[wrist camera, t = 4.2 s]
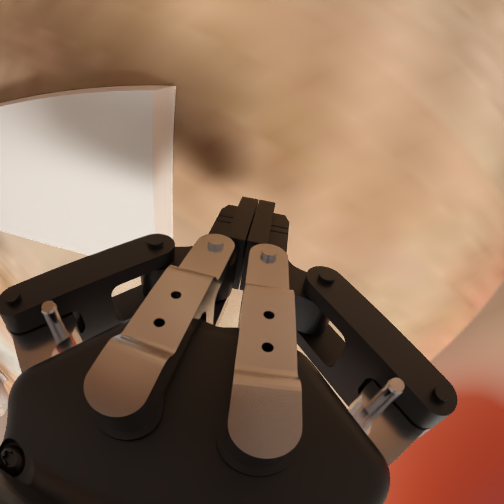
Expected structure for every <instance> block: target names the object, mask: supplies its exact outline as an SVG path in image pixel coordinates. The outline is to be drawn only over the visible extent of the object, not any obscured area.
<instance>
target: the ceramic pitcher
mask: <svg viewBox="0 0 504 504" xmlns="http://www.w3.org/2000/svg"><path fill="white" fill-rule="evenodd" d="M6 381H8V379H7V378H6V377H5V376H4V375H3V374H2V373H1V372H0V416H2V415H3V414H4V413H5V411H6V409H7V405H8V394H7V391H6V389H5V387H4V385H3V383H4V382H6Z"/></svg>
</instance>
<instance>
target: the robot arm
mask: <svg viewBox="0 0 504 504" xmlns="http://www.w3.org/2000/svg"><path fill="white" fill-rule="evenodd" d="M257 206H258V207H257ZM274 207H275V203H274V202H269V201H264V200H259V203H258V199H253V198H248V197H242V199H241V201H240V203H239V205H238V206H233V205H228V206H226V207H224V208H223V209H222V210H221V211H220V213H219V216H218V217H217V219H216V221H215V223H214V225H213V227H212V228H211V230H210V232H209V234H207V235H204V236H202V237H200V238H199V239H198V240H197V241H196V243H195V244H194V246H190V247H175V243H174V240H173V239H172V238H171V237H169V236H167V235H164V234H149V235H146V236H143V237H140V238H137V239H134V240H132V241H129V242H126V243H123V244H120V245H117V246H115V247H112V248H109V249H106V250H104V251H101V252H98V253H95V254H93V255H90V256H87V257H85V258H82V259H79V260H77V261H74V262H71V263H69V264H66V265H63V266H61V267H58V268H56V269H53V270H51V271H48V272H46V273H43V274H41V275H38V276H36V277H33V278H31V279H28V280H26V281H23V282H21V283H19V284H16V285H14V286H11V287H9V288H8V289H6V290H5V291H4V292H3V293H2V294H1V295H0V315H1V317H2V319H3V321H4V323H5V324H6V328H7V330H8V332H9V333H10V335H11V337H12V338H13V341H14V345H15V349H16V353H17V357H18V361H19V364H20V368H21V371H22V374H21V375H20V376H19V377H18V378H17V380H16V381H15V382H14V384H13V386H12V388H11V391H10V394H9V399H8V417H7V426H6V431H5V436H4V440H3V442H2V444H1V446H0V504H383V503H384V502H385V500H386V497H387V494H388V492H389V486H390V472H389V468H388V466H389V465H390V464H391V463H392V462H393V461H394V460H396V459H397V458H398V457H399V456H400V455H401V454H402V453H403V452H404V451H405V450H406V449H407V448H408V447H409V446H410V445H411V444H412V443H413V442H414V441H415V440H416V439H417V438H419V437H420V436H422V435H423V434H425V433H426V432H427V431H429V430H430V429H432V428H433V427H434V426H436V425H437V424H438V423H439V422H441V421H442V420H443V419H445V418H446V417H447V416H448V415H449V414H451V413H452V412H453V411H454V410H455V408H456V405H457V395H456V392H455V390H454V388H453V386H452V385H451V384H450V382H449V381H448V380H447V379H446V378H445V377H444V376H443V375H442V374H441V373H440V372H439V371H438V370H437V369H436V368H435V367H434V366H433V365H432V364H431V363H430V362H429V361H428V359H427V358H426V357H425V356H424V355H423V354H422V353H421V352H420V351H419V350H418V349H417V348H416V347H415V346H414V345H413V344H412V343H411V342H410V341H409V340H408V339H407V338H406V337H405V336H404V335H403V334H402V333H401V332H400V331H399V330H398V329H397V328H396V327H395V326H394V325H393V324H392V323H391V322H390V321H389V320H388V319H387V318H386V317H385V316H383V315H382V314H381V313H380V312H379V311H378V310H377V309H376V308H375V307H374V306H373V305H372V304H371V303H370V302H369V301H368V300H367V299H366V298H365V297H364V296H363V295H362V294H361V293H360V292H359V291H357V290H356V289H355V288H354V287H353V286H352V285H351V284H350V283H349V282H348V281H347V280H346V279H345V278H344V277H343V276H341V275H340V274H339V273H338V272H337V271H335V270H333V269H331V268H328V267H323V266H316V267H313V268H311V269H309V270H308V272H305V271H303V270H300V269H298V268H296V267H295V266H293V265H292V264H291V263H290V262H289V260H288V255H287V253H286V252H287V241H288V229H289V221H288V219H287V218H286V216H285V215H280V214H275V213H274ZM139 276H141V283H142V285H140V286H138V287H135V288H133V289H130V290H128V291H126V292H123V293H121V294H119V295H116V296H114V297H111V294H112V291H113V289H114V288H115V287H116V286H118V285H120V284H122V283H125V282H127V281H130V280H132V279H135V278H137V277H139ZM241 277H242V278H241ZM240 281H241V285H240V290H243V296H242V302H241V308H240V315H239V323H238V328H222V327H218V325H219V323H220V320H221V318H222V315H223V313H224V311H225V308H226V306H227V303H228V297H229V295H230V293H231V290H232V288H234V289H238V288H239V284H240ZM329 321H331V322H332V323H333V324H334V325H335V326H336V328H337V329H338V330H339V331H340V332H341V333H342V334H343V336H344V338H345V342H344V341H343V339H342V338H341V337H340V336H339V335H338V334H337V333H336V332H335V331H334V330H333V328H332V327H331V326H330V325H329V324H328V323H329ZM297 344H298V345H299V346H300V348H301V349H302V350H303V351H304V353H305V354H306V355H307V356H308V358H309V359H310V360H311V361H312V362H311V361H310V360H309V359H308V358H307V357H306V356H305V355H303V354H302V353H301V352H299V351H298V350H297ZM312 363H313V364H314V365H315V366H316V367H317V369H318V370H319V371H320V372H321V374H322V375H323V376H324V377H325V379H326V380H327V381H328V382H329V383H330V385H331V386H332V387H333V388H334V390H335V391H336V392H337V393H338V394H339V396H340V397H341V398H342V399H343V400H344V402H345V403H346V404H347V405H348V406H349V409H347V408H346V407H345V405H344V404H343V403H342V402H341V400H340V399H339V398H338V396H337V395H336V394H335V392H334V391H333V390H332V388H331V387H330V386H329V385H328V383H327V382H326V381H325V379H324V378H323V377H322V375H321V374H320V373H319V371H318V370H317V369H316V367H315V366H314V365H313V364H312Z"/></svg>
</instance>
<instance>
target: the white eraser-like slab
mask: <svg viewBox="0 0 504 504" xmlns="http://www.w3.org/2000/svg"><path fill="white" fill-rule="evenodd" d="M175 96H176V86H165V85H144V86H115V87H100V88H88V89H78V90H69V91H62V92H55V93H48V94H42V95H36V96H31V97H25V98H20V99H16V100H11V101H7V102H2V103H0V231H2V232H6V233H9V234H12V235H16V236H19V237H23V238H26V239H30V240H33V241H37V242H40V243H44V244H48V245H51V246H55V247H59V248H62V249H66V250H70V251H74V252H78V253H82V254H85V255H89V256H90V255H93V254H95V253H98V252H101V251H104V250H106V249H109V248H112V247H115V246H117V245H120V244H123V243H126V242H129V241H132V240H134V239H137V238H140V237H143V236H146V235H149V234H164V235H167V236H169V237H171V238H172V239H173V194H172V186H173V135H174V113H175Z"/></svg>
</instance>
